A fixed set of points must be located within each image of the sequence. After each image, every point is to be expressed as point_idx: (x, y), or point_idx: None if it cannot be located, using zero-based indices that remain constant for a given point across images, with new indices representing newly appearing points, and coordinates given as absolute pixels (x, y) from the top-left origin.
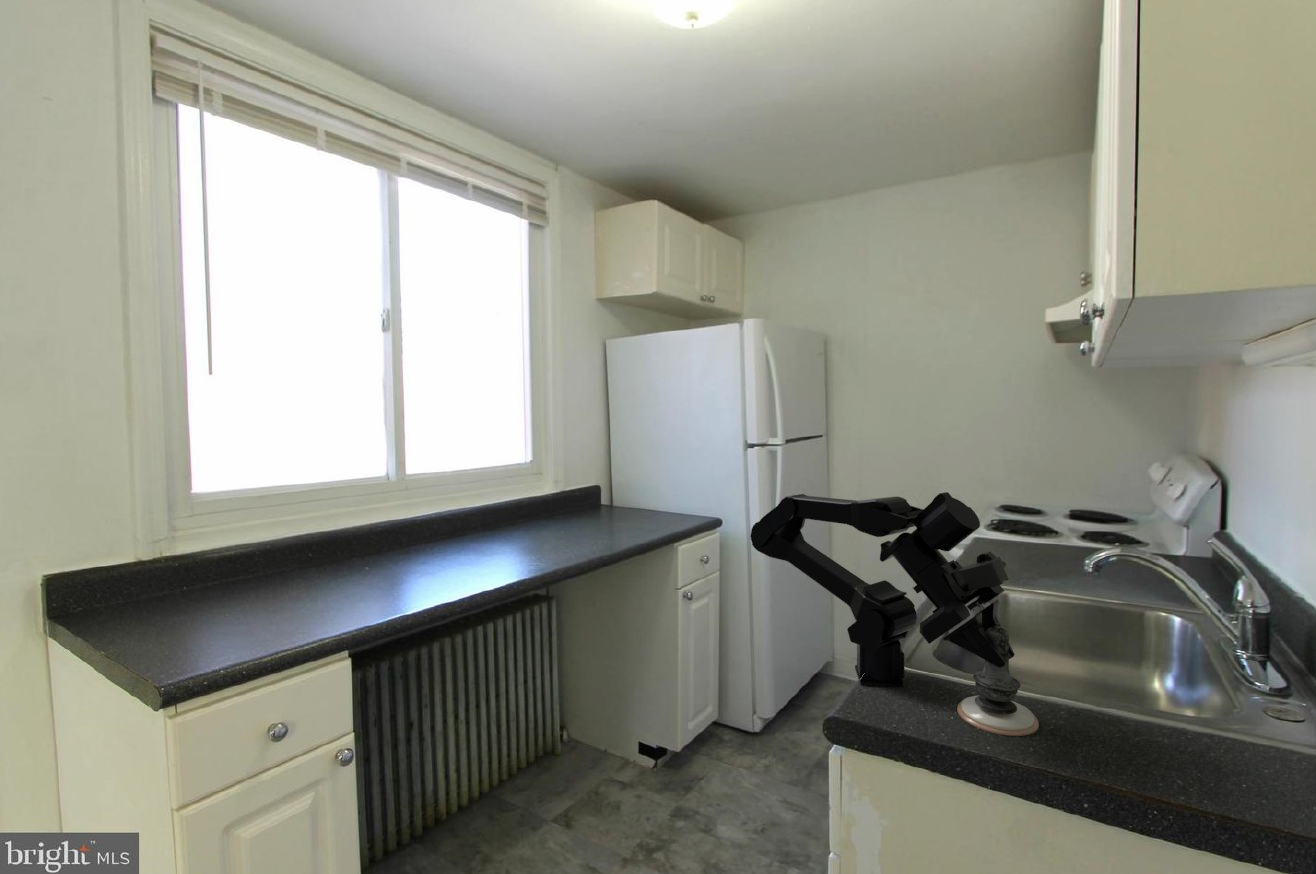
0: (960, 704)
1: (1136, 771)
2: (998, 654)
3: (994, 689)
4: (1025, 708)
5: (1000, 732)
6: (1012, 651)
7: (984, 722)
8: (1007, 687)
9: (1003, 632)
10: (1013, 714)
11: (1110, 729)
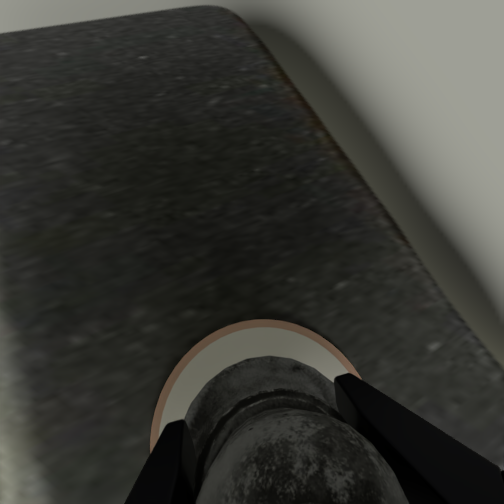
0: None
1: (239, 143)
2: (395, 405)
3: None
4: (177, 388)
5: (351, 364)
6: (169, 436)
7: None
8: (307, 376)
9: (327, 448)
10: None
11: (90, 232)
